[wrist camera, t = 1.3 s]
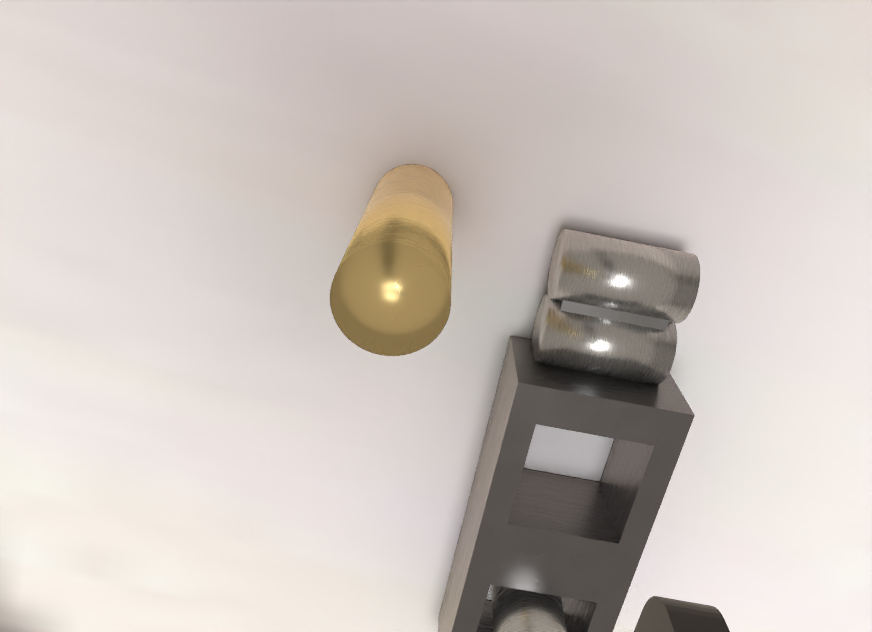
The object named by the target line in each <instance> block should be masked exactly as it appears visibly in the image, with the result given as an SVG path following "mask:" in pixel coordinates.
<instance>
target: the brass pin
mask: <svg viewBox="0 0 872 632" xmlns="http://www.w3.org/2000/svg"><path fill="white" fill-rule="evenodd" d="M452 218H453V200H452V195H451V191H450V189H449V187H448V185H447V183H446V182H445V180H444V179H443V178H442V177H441V176H440V175H439V174H438V173H437V172H435V171H434V170H432V169H430V168H428V167H425V166H422V165H416V164H408V165H402V166H399V167H396V168H394V169H392V170H391V171H389V172H388V173H386V174H385V175H384V176H383V177H382V178H381V180H380V181H379V183H378V184H377V186H376V188H375V191H374V193H373V195H372V197H371V199H370V201H369V203H368V206H367V208H366V210H365V212H364V214H363V216H362V218H361V221H360V223H359V225H358V227H357V229H356V231H355V233H354V236H353V238H352V240H351V242H350V244H349V246H348V248H347V251H346V253H345V255H344V257H343V259H342V261H341V263H340V266H339V268H338V270H337V272H336V274H335V276H334V279H333V282H332V286H331V290H330V305H331V310H332V314H333V316H334V319H335V321H336V323H337V325H338V327H339V328H340V330H341V331H342V332H343V333H344V335H345V336H346V337H347V338H348V339H349V340H351V341H352V342H353V343H354V344H356V345H357V346H359V347H360V348H362V349H364V350H366V351H369V352H372V353H375V354H379V355H385V356H400V355H406V354H410V353H413V352H416V351H418V350H420V349H422V348H424V347H426V346H427V345H428V344H430V343H431V342H432V341H433V340H434V339H436V337H437V336H438V335H439V334H440V333H441V331H442V330H443V328H444V326H445V324H446V322H447V320H448V317H449V313H450V307H451V269H452Z"/></svg>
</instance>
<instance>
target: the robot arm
mask: <svg viewBox="0 0 872 632" xmlns="http://www.w3.org/2000/svg"><path fill="white" fill-rule="evenodd" d="M634 632H730V631H729V629H728V627H727V624H726V622H725V620H724V618H723V616H722V614H721V613H720V612H719V610H718V609H716V608H715V607H713V606H709V605H703V604H697V603H691V602H686V601H680V600H674V599H669V598H663V597H657V596H653V597H651V598H650V599H649V600H648V601H647V602H646V604H645V606H644V608H643V610H642V613H641V615H640V618H639V620H638V623H637V625H636V628H635V630H634Z"/></svg>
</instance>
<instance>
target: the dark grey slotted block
mask: <svg viewBox="0 0 872 632" xmlns="http://www.w3.org/2000/svg"><path fill="white" fill-rule="evenodd" d="M699 281H700V265H699V261H698V258H697V257H696V255H694V254H691V253H686V252H681V251H676V250H671V249H666V248H661V247H656V246H651V245H646V244H641V243H636V242H630V241H625V240H620V239H615V238H610V237H605V236H600V235H595V234H590V233H585V232H580V231H575V230H570V229H563V230H562V231H561V233H560V235H559V237H558V240H557V242H556V245H555V248H554V252H553V255H552V260H551V264H550V270H549V277H548V294H545V295H544V297H543V298H542V301H541V303H540V305H539V308H538V312H537V315H536V319H535V324H534V329H533V335H532V340H529V339H524V338H519V337H513V336H510V340H509V344H508V348H507V352H506V355H505V359H504V363H503V367H502V371H501V375H500V379H499V383H498V387H497V391H496V395H495V399H494V402H493V406H492V410H491V414H490V418H489V422H488V426H487V430H486V434H485V438H484V442H483V445H482V449H481V453H480V457H479V461H478V465H477V469H476V473H475V477H474V481H473V485H472V488H471V492H470V496H469V500H468V504H467V508H466V512H465V516H464V520H463V524H462V528H461V532H460V535H459V539H458V543H457V547H456V551H455V555H454V559H453V563H452V567H451V571H450V575H449V578H448V582H447V586H446V590H445V594H444V598H443V602H442V606H441V610H440V614H439V624H438V632H612V631H613V629H614V626H615V624H616V621H617V618H618V616H619V613H620V610H621V608H622V605H623V603H624V600H625V597H626V595H627V592H628V589H629V587H630V584H631V581H632V579H633V576H634V574H635V571H636V568H637V566H638V563H639V560H640V558H641V555H642V552H643V550H644V547H645V545H646V542H647V539H648V537H649V534H650V531H651V529H652V526H653V523H654V521H655V518H656V516H657V513H658V510H659V508H660V505H661V502H662V500H663V497H664V494H665V492H666V489H667V487H668V484H669V481H670V479H671V476H672V473H673V471H674V468H675V465H676V463H677V460H678V458H679V455H680V452H681V450H682V447H683V444H684V442H685V439H686V436H687V434H688V431H689V429H690V426H691V423H692V421H693V418H694V413H693V412H692V410H691V408H690V407H689V405H688V403H687V402H686V400H685V398H684V396H683V395H682V393H681V391H680V390H679V388H678V386H677V385H676V383H675V381H674V380H673V378H672V376H671V375H670V373H669V372H670V369H671V367H672V364H673V360H674V357H675V351H676V344H677V331H676V326H675V323H680V322H682V321H683V320H685V318H686V317H687V316H688V314H689V313H690V311H691V309H692V307H693V305H694V302H695V299H696V296H697V292H698V287H699ZM674 322H675V323H674ZM536 424H539V425H544V426H550V427H555V428H561V429H566V430H572V431H577V432H583V433H588V434H593V435H599V436H604V437H610V438H615V439H614V442H613V445H612V448H611V451H610V454H609V457H608V460H607V463H606V466H605V469H604V472H603V475H602V478H601V481H600V482H596V481H590V480H585V479H579V478H573V477H568V476H562V475H557V474H551V473H546V472H540V471H535V470H529V469H523V467H524V463H525V460H526V456H527V453H528V449H529V446H530V442H531V439H532V435H533V432H534V428H535V425H536ZM490 584H491V596H492V601H489V600H486V597H487V593H488V590H489V586H490Z"/></svg>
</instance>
